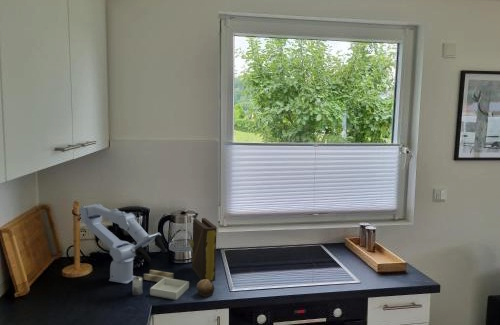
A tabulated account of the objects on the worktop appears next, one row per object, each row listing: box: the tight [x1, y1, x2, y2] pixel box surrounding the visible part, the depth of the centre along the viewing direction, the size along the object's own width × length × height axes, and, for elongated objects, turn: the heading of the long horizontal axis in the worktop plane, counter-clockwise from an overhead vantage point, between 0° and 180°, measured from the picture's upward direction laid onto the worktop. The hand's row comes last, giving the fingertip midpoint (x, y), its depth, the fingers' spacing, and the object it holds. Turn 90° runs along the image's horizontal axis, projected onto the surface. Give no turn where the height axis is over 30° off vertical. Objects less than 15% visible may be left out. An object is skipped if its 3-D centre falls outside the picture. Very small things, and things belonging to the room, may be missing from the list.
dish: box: [149, 278, 190, 301], centre depth 161 cm, size 12×12×3 cm
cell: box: [132, 275, 144, 296], centre depth 158 cm, size 4×4×7 cm
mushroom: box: [196, 279, 215, 297], centre depth 160 cm, size 8×8×6 cm
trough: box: [143, 269, 174, 283], centre depth 173 cm, size 12×6×2 cm, turn 74°
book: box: [189, 217, 218, 283], centre depth 181 cm, size 22×8×25 cm, turn 25°
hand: (157, 256), depth 160 cm, fingers open, 7 cm apart
